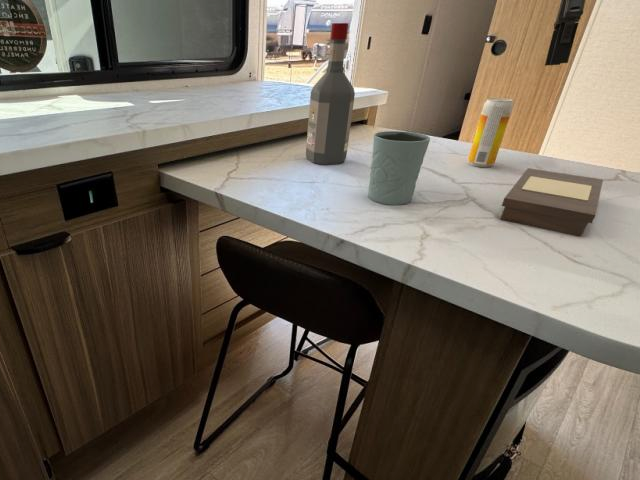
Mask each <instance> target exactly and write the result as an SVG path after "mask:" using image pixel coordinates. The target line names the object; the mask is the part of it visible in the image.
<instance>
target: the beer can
mask: <svg viewBox="0 0 640 480" xmlns="http://www.w3.org/2000/svg"><path fill="white" fill-rule="evenodd" d="M513 108H514V100H513V99H511V98H504V97H490V98H487V99H486V100H485V102H484V103H483V107H482V110H481V113H480V117H479V120H478V124H477V127H476V130H475V134H474V138H473V140H472V143H471V148H470V152H469V154H468V158H467V161H468V163H469V165H470V166H472V167H475V168H476V167H477V168H490V167H492V166H493V165H494V164H496V163H495V162H496V161H497V157H498V154H499V151H500V147H501V144H502V141H503V138H504V136H505V132H506V129H507V126H508V124H509V120H510V117H511V115H512V111H513Z"/></svg>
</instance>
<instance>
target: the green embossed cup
mask: <svg viewBox="0 0 640 480" xmlns="http://www.w3.org/2000/svg"><path fill="white" fill-rule="evenodd" d="M372 141H373V142H372V155H371V159H372V160H371V164H370V172H369V177H370V178H369V181H368V190H367V197H368V199H370V201H373V202H375V203H379V204H382V205H387V206H388V205H389V206H401V205H407V204H409V203H411V201H412V199H413V196H414V194H415V190H416V185H417V181H418V179H419V174H420V172H421V168H422V165H423V163H424V162H423V161H424V159H425V155H426V153H427V151H428V148H429V144H430V141H431V137H430V136H428V135H426V134H422V133H419V132H418V133H417V132H411V131H402V130H393V131H392V130H391V131H390V130H388V131H387V130H386V131H379V132H376V133H374V134H373V140H372Z"/></svg>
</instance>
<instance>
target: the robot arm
mask: <svg viewBox="0 0 640 480" xmlns="http://www.w3.org/2000/svg"><path fill="white" fill-rule="evenodd" d="M585 3H586V0H561V1H560V4H559V8H558V12H557V14H556V17H555V18H556V19H555V22H554V23H553V32H552V36H551V38H550V42H549V47H548V50H547V55H546V58H545V63H544V66H545V67H546V66H560V65H561V64H568V63H569V59H570V55H571V52H572V49H573V45H574V41H575V37H576V35H577V30H578V26H579V22H580V20H581V17H582V15H583V14H584V8H585Z"/></svg>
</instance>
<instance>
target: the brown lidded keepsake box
mask: <svg viewBox="0 0 640 480" xmlns="http://www.w3.org/2000/svg"><path fill="white" fill-rule="evenodd" d="M603 182H604V179H602V178H596V177H590V176H582V175H576V174H571V173H563V172H556V171H550V170H545V169H544V170H543V169H536V168H529V167H527V168H526V169H525V171H524V172H523V173H522V174H521V176H520V177H519V179H518V180H517V181H516V182H515V184H514V185H513V186H512V187H511V189H510V190H509V191H508V193H507V194H506V195H505V197H504V198H503V201H502V203H501V207H504V209H503V210H502V214H501V216H500V220H504V221H507V222H511V223H518V224H522V225H526V226H531V227H535V228H541V229H545V230H548V231H549V230H550V231H554V232H558V233H563V234H568V235H573V236H578V237H582V235H583V233H584V231H585V229H586V227H587V226H588V224H593V222H594V220H595V217H596V215H597V210H598V207H599V200H600V197H601V192H602V187H603Z"/></svg>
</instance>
